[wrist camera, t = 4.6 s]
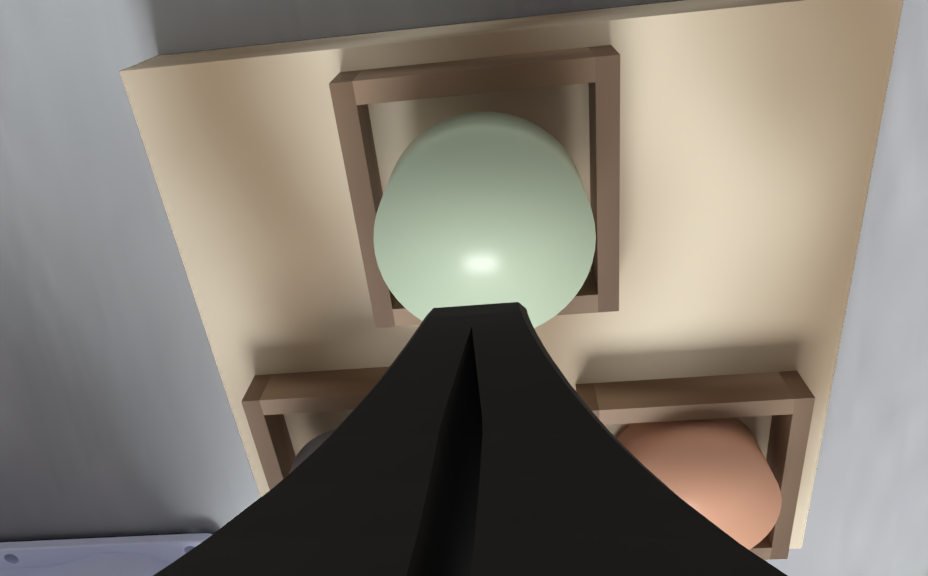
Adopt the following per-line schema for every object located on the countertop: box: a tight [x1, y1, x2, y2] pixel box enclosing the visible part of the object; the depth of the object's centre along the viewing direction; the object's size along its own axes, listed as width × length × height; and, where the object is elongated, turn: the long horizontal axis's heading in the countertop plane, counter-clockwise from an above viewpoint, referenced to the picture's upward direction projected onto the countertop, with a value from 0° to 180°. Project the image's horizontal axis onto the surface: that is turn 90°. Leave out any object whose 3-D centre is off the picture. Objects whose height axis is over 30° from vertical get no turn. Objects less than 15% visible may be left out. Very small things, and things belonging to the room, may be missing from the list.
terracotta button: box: [617, 417, 782, 550], centre depth 19 cm, size 4×4×2 cm
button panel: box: [119, 0, 903, 560], centre depth 19 cm, size 17×16×3 cm
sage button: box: [373, 112, 596, 328], centre depth 14 cm, size 4×4×2 cm
